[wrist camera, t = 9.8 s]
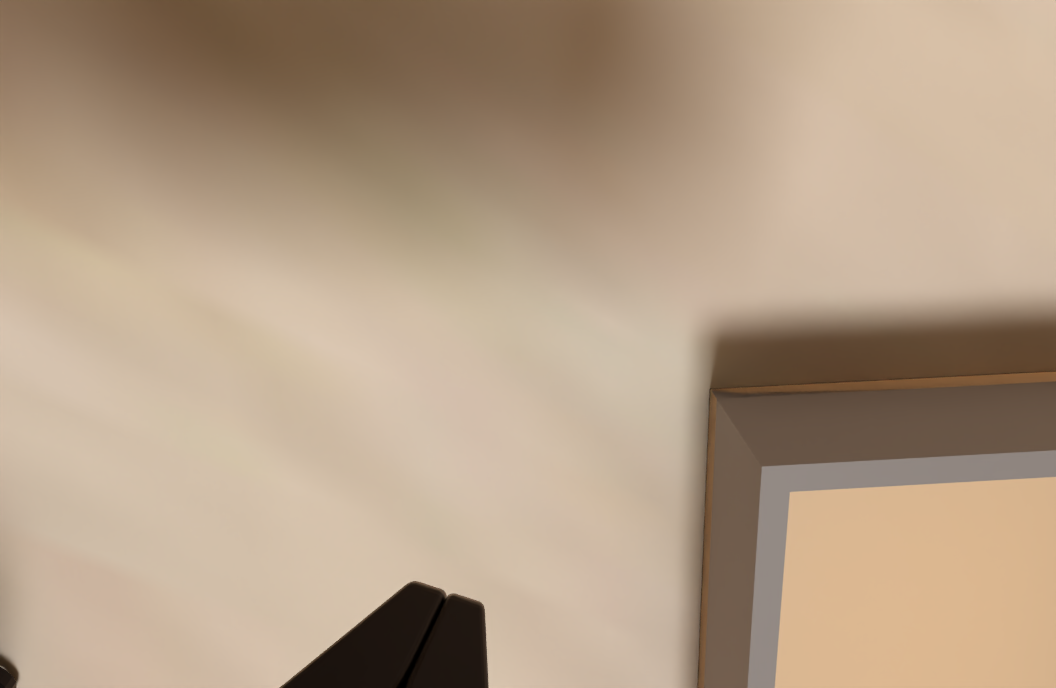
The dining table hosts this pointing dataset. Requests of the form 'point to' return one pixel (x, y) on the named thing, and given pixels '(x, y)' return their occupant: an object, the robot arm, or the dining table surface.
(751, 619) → the box
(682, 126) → the dining table surface
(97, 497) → the dining table surface
